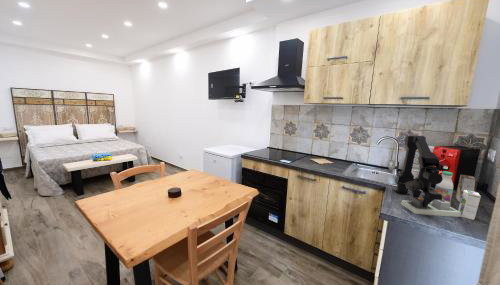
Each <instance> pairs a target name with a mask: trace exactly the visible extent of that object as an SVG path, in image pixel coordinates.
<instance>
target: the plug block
mask: <svg viewBox="0 0 500 285" xmlns="http://www.w3.org/2000/svg"><path fill="white" fill-rule="evenodd" d="M423 199H424V198H423V197H422V196H421V197H420V196H419V197H413V196H412V198H411V201H412V202H411V205H412V206H414V207H415V208H417V209H427V208H428V205H427V206H426V207H423Z"/></svg>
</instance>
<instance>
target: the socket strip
mask: <svg viewBox="0 0 500 285" xmlns="http://www.w3.org/2000/svg"><path fill="white" fill-rule="evenodd" d="M411 202H412V200H405V199H403V200H402V199H401V202H400V205H402V206H403V207H405V209H407V210H409V211H411V212H412V213H413V214H415V215H416V214H417V215H427V216H438V217H439V216H440V217H442V216H443V217H455V218H456V217H458V218H460V217H461V216H460V215H461V212H459V211H458V209H456V208H454V207H451V206H450V209H449V211H446V210H438V209H436V208H434V207H433V206H432V203H433V201H432V202H431V203H429V204H428V208H427V209H417V208H415V207H414V206H412V205H411Z"/></svg>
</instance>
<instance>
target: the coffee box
mask: <svg viewBox="0 0 500 285" xmlns="http://www.w3.org/2000/svg"><path fill="white" fill-rule="evenodd" d="M478 182H479V180H478V178H476V177H475V176H473V175H467V174H460V177H459V180H458V184H457V189H456V194H455V199H456V200H457V201H458V203H460V202H461V198H462V195H463V191H464V190H469V191H473V192H477V186H478Z"/></svg>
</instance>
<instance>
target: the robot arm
mask: <svg viewBox="0 0 500 285" xmlns="http://www.w3.org/2000/svg"><path fill="white" fill-rule="evenodd" d="M404 145H405V148H406V152H405V157H404V162H403V167H402V169H401V170H400V171H399V173H398V175H397V176H396V177H395V178H394V182H395V184H396V189H394V190H393V191H394V192H396V193H397V194H399V195H407V196H408V195H409V196H410V193H409V191H410V192H411V194H412V197H420V196H421V198H423V207H426V206H427V205H428V204H429V203H431V202H433V200H442V195H441V194H439V193H437V192H435V191H432V190H433V188H431V186H432V185H436V184H439V183H441V182H442V180H443V178H442V174H440V171H441V169H442V165H441V163H440V160H439V158H438V155H436V153H434V152H432V150H431V149H430V147H429V144H428V142H427V138H426V136H424V135H407V136H405V138H404ZM417 150H418V153H419V157H418V161H417V162H418V164H419V165H418V166H419V171H418V177H415V176H414V174H413V166H414V161H415V157H416V151H417ZM414 178H415V179H414ZM422 193H424V195H423V194H422Z"/></svg>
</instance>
